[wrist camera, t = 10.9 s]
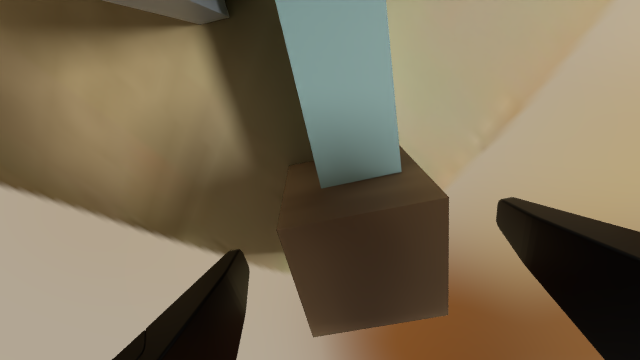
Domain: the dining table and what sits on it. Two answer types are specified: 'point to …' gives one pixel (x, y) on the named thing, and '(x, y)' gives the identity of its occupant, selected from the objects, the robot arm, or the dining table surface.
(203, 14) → the cover
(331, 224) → the block
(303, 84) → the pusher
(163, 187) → the dining table surface
